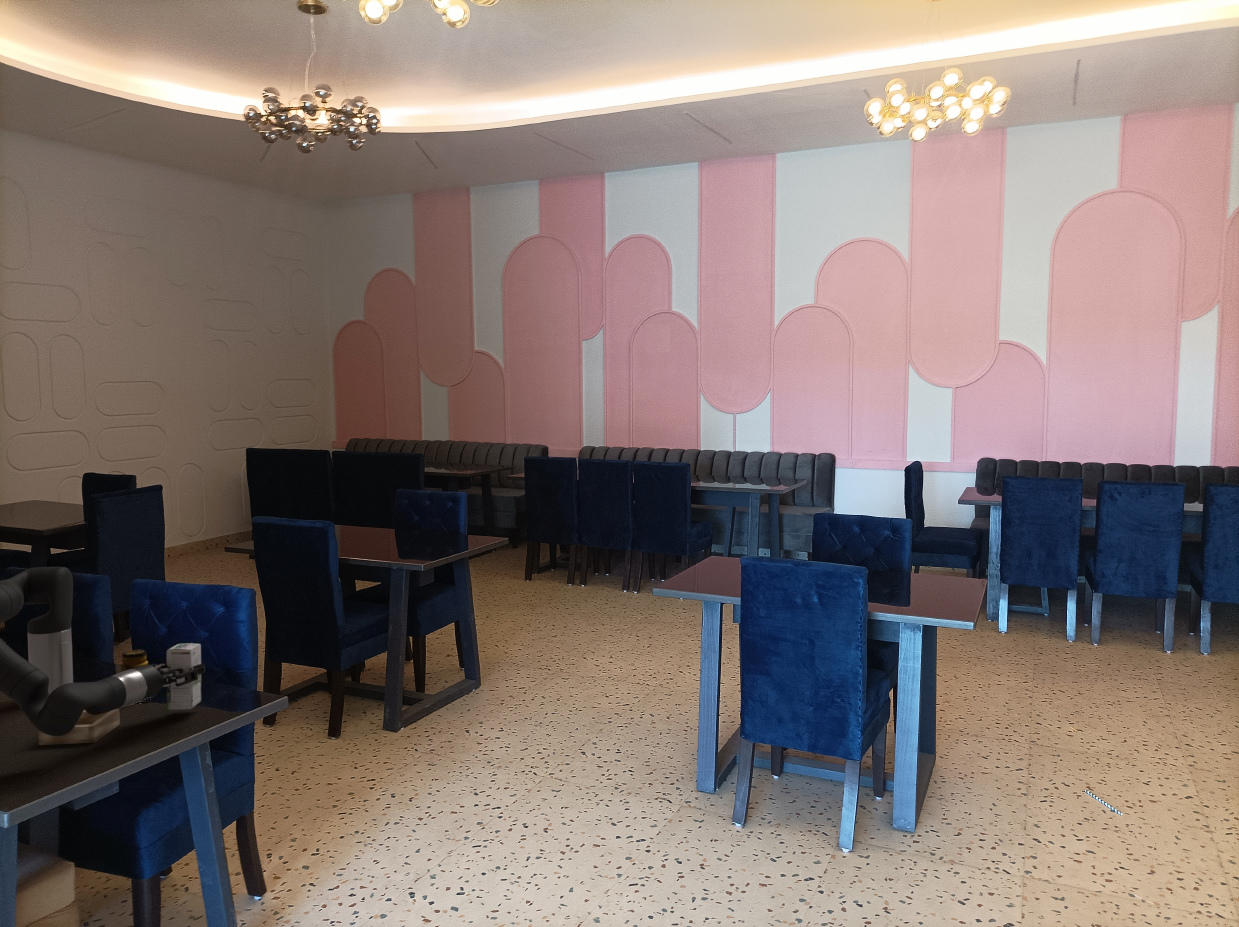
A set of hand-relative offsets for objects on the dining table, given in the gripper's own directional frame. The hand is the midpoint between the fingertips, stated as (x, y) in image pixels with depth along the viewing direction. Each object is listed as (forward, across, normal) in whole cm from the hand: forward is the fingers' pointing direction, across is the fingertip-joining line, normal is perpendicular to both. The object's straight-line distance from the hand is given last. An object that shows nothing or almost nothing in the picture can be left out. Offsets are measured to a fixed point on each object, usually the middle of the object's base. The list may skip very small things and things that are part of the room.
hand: (191, 666), depth 203 cm
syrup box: (-2, 0, -9) cm, 10 cm away
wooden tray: (-20, -12, -11) cm, 26 cm away
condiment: (+2, -21, -11) cm, 24 cm away
